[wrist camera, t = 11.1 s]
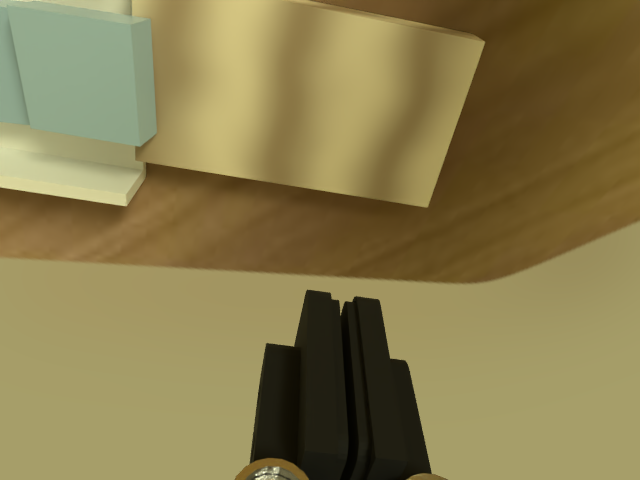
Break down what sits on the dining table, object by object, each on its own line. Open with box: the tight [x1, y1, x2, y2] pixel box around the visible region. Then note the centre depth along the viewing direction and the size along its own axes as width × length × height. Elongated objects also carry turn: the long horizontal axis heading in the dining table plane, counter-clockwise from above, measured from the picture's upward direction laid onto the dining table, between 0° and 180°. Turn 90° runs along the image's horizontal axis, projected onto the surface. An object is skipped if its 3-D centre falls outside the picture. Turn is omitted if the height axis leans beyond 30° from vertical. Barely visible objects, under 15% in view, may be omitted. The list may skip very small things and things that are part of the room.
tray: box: [0, 0, 146, 206], centre depth 25 cm, size 12×15×4 cm
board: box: [132, 0, 485, 208], centre depth 28 cm, size 18×10×2 cm, turn 79°
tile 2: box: [6, 1, 157, 147], centre depth 25 cm, size 6×6×2 cm
